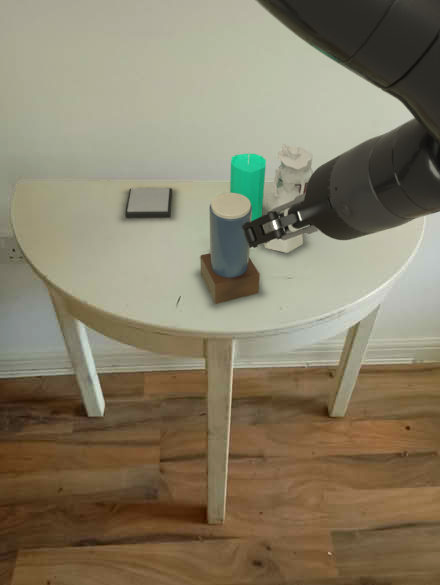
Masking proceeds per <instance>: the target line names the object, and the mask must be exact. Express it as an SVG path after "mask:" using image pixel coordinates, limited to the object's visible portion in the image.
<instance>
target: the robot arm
mask: <svg viewBox="0 0 440 585" xmlns="http://www.w3.org/2000/svg"><path fill="white" fill-rule="evenodd" d="M254 1H255V2H257V3H258V4H259V5H260V6H261V7H262V8H263V9H264V10H265V11H266V12H268V14H270V15H271V16H272V17H273V18H274V19H275V20H277V21H278V22H279V23H280V24H282V25H283V26H284V27H285V28H286V29H288V30H289V31H290V32H291V33H292V34H294V35H295V36H296V37H298V38H299V39H301V41H303V42H305V43H306V44H308V45H309V46H310V47H312V48H313V49H315V50H316V51H318V52H319V53H321V54H322V55H323V56H325V57H327V58H328V59H330V60H332V61H333V62H335V63H336V64H339V65H340V66H342V67H344V68H345V69H346V70H348V71H349V72H351V73H353V74H355V75H356V76H358V77H360V78H361V79H363V80H365V81H366V82H368V83H370V84H371V85H373V86H374V87H376V88H377V89H380V90H381V91H383V92H384V93H387V95H389V96H391V97H393V98H395V99H396V100H397V101H399V102H400V103H401V104H402V105H403V106H404V107H405V108H406V109H407V110H408V111H409V113H410V114H411V115H412V117H413V118H411V119H409V120H408V121H406V122H404V123H402V124H400V125H398V126H397V127H395V128H393V129H391V130H389V131H388V132H386V133H383V134H380V135H377V136H374V137H372V138H371V137H370V138H369V139H366V140H365V141H362V142H361V143H359V144H357V145H355V146H353V147H351V148H350V149H348V150H347V151H345V152H343V153H341V154H339V155H338V156H336V157H334V158H331V160H329V161H327V162H325V163H323V164H321V165H320V166H318V167H317V168H316V169H315V170H314V171H313V174H312V175H311V177H310V179H309V181H308V184H307V188H306V193H304V194H301V195H299V196H297V197H296V198H295V199H294V200H293V201H291V202H288V203H286V204H283V205H281V206H278V207H276V208H274V209H272V211H270V212H266V214H264V215H262V216H261V217H260V218H257V219H255V220H253V221H251V222H246V223H244V225H242V228H243V230H244V235H245V237H246V240H247V243H248V245H249V247H250V249H252V248H253V249H255V248H258V247H259V245H262V244H263V243H265V244H266V243H269V242H270V241H271V240H273V239H276V238H277V240H278V239H281V240H287V239H290V238H292V237H295V236H298V235H301V234H302V235H303V234H308V235H311V234H314V233H316V232H319V231H320V232H321V233H322V234H324V235H325V236H327V237H328V238H330V239H333V240H336V241H337V240H338V241H349V240H355V239H358V238H361V237H364V236H368V235H369V236H370V235H372V234H376V233H379V232H383V231H387V230H390V229H394V228H397V227H401V226H403V225H405V224H408V223H409V222H412V221H414V220H415V219H419V218H423V217H426V216H429V215H433V214H436V213H439V212H440V0H254ZM288 208H289V210H288V215H287V216H284V211H285V210H286V209H288ZM267 213H268V214H267ZM291 224H292V227H293V228H295V229H300V228H302V229H300V230H297V231H294V232H293V231H290V230H289V227H288V225H291Z"/></svg>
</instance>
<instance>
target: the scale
mask: <svg viewBox="0 0 440 585" xmlns="http://www.w3.org/2000/svg"><path fill="white" fill-rule="evenodd" d="M172 198H173V188H171V187H131V188H129V191H128V196H127V202H126V207H125V213H124V215H125V218H126V219H152V218H155V219H156V218H160V219H161V218H165V219H166V218H171V211H172V201H173V200H172Z"/></svg>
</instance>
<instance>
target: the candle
mask: <svg viewBox="0 0 440 585" xmlns="http://www.w3.org/2000/svg"><path fill="white" fill-rule="evenodd" d="M266 166H267V159H266V158H264V157H263V156H262V155H260V154H256V153H250V152H248V153H241V154H239V153H238V154H235V155H233V156H231V159H230V181H229V182H230V186H229V187H230V188H229V193H238V194H241V195H243V196H245V197H247V198H248V199H249V201H250V203H251V206H252V219H251V221H253V220H255V219H257V218H260V217H262V216H263V206H264V205H263V204H264V192H265V181H266V180H265V178H266Z"/></svg>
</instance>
